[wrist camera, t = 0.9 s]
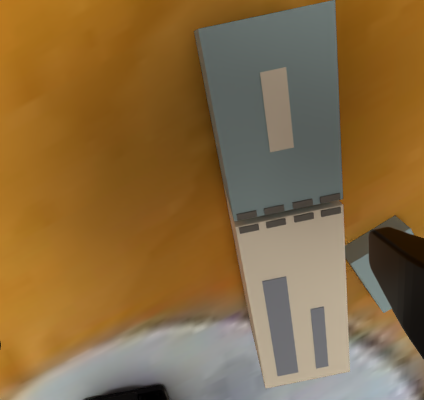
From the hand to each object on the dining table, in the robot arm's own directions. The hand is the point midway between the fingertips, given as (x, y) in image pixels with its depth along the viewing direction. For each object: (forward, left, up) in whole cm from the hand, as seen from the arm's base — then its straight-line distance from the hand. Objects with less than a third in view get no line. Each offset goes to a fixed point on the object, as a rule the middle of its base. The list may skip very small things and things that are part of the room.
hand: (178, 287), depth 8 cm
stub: (+1, -4, -13) cm, 13 cm away
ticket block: (-9, -4, -13) cm, 16 cm away
